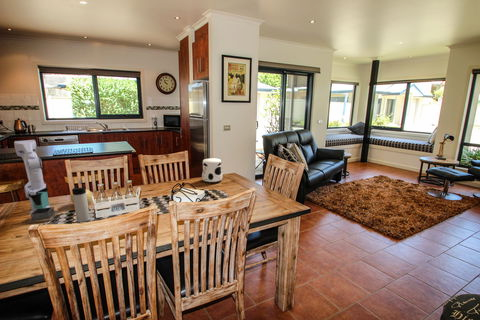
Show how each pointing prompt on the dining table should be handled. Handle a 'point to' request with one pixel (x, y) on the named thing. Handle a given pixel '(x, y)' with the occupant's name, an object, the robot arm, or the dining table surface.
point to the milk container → (212, 170)
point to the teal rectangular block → (42, 201)
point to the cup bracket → (42, 214)
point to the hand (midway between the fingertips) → (41, 202)
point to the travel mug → (81, 204)
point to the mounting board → (42, 219)
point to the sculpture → (89, 197)
